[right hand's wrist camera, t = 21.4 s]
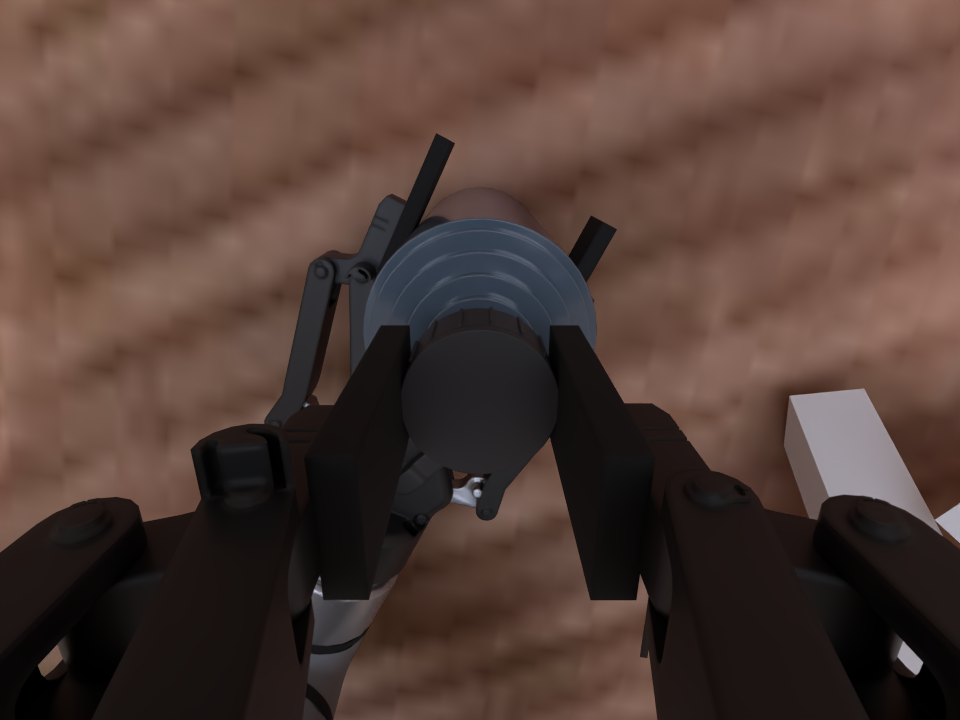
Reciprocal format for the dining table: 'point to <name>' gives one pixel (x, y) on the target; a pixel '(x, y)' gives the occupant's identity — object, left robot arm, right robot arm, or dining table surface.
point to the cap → (479, 392)
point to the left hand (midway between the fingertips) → (526, 182)
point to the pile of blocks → (853, 463)
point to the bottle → (479, 270)
